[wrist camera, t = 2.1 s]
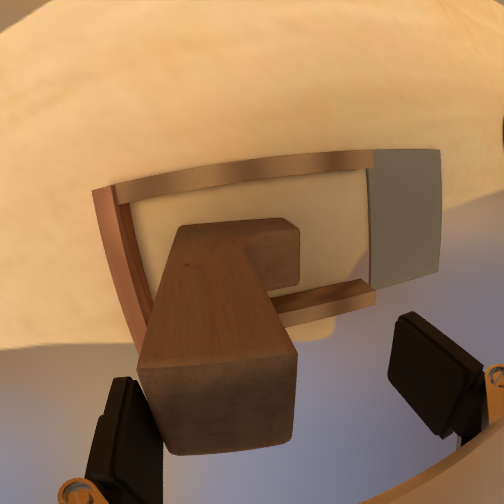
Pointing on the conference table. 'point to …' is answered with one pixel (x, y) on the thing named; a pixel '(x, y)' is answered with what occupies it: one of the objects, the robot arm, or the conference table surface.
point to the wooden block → (222, 339)
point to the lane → (119, 195)
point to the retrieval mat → (404, 215)
